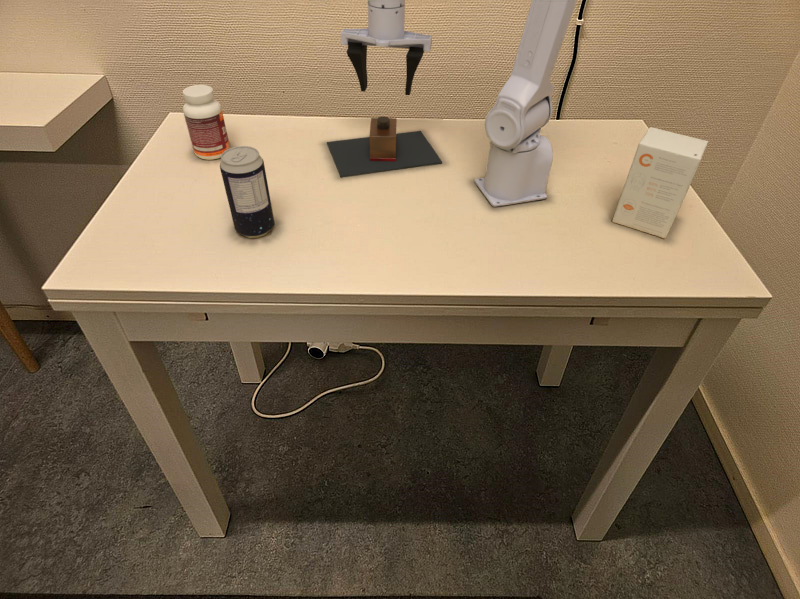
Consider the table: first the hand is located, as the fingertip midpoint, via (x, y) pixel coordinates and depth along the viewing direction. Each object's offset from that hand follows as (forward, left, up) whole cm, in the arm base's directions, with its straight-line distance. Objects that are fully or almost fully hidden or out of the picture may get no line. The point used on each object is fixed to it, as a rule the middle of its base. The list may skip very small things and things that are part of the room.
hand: (386, 91), depth 91 cm
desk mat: (+2, +4, -10) cm, 10 cm away
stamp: (+2, +4, -9) cm, 10 cm away
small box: (-31, +34, -10) cm, 47 cm away
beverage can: (+26, +21, -10) cm, 34 cm away
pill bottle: (+31, -4, -10) cm, 32 cm away
